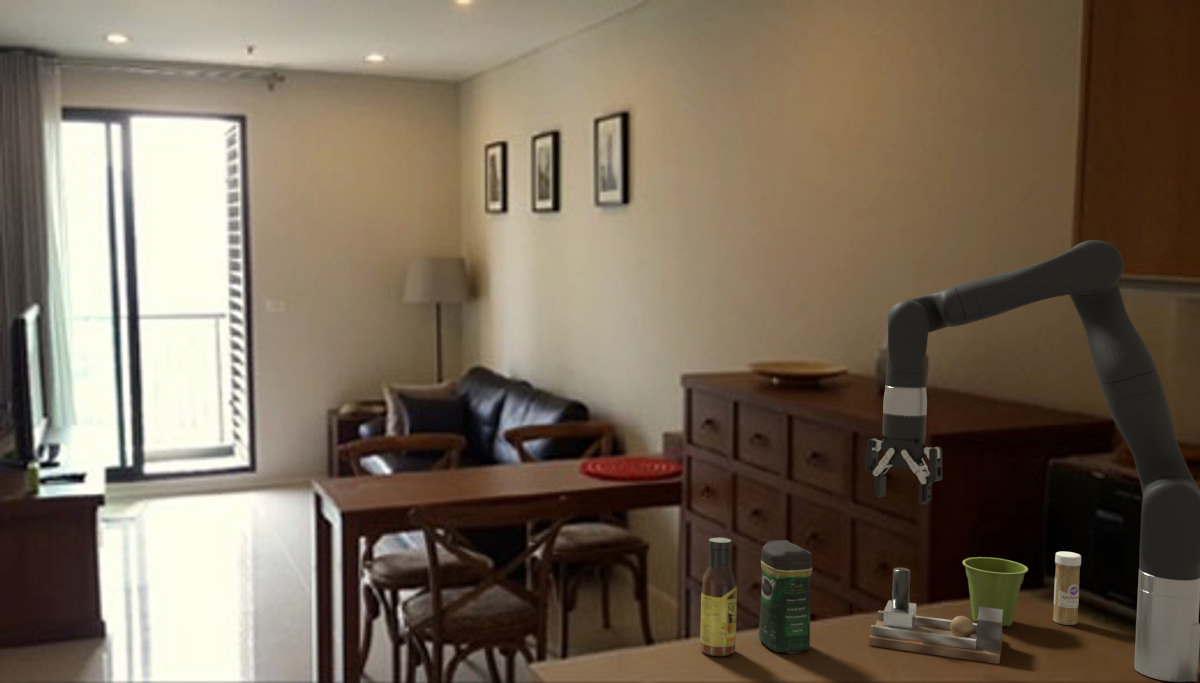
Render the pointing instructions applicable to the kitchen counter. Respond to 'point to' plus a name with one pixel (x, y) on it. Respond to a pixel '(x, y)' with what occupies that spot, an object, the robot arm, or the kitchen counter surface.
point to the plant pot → (994, 585)
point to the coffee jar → (785, 597)
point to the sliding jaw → (900, 603)
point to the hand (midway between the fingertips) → (901, 500)
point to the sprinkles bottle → (1066, 587)
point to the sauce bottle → (718, 601)
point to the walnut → (961, 627)
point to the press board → (945, 637)
